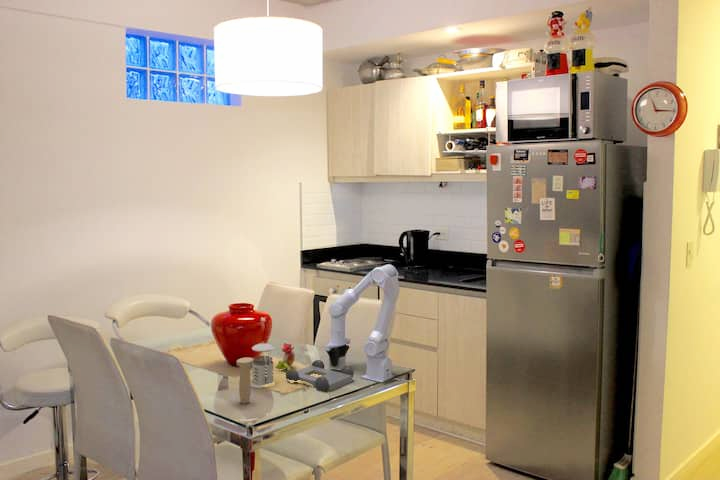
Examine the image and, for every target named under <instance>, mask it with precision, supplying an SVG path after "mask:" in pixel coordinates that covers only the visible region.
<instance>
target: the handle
mask: <svg viewBox="0 0 720 480" xmlns="http://www.w3.org/2000/svg"><path fill="white" fill-rule="evenodd" d="M253 358H254V357H247V356H246V357H241V358H239V359H237V360H236V366H238V367H239V370H240V371H239V382H238V384H239V385H238V386H239V387H238V388H239V389H238V391H239V398H240V404H243V405H244V404H249V403H250V398H251V391H252V386H251V381H252V379H251V367H252V364H253V362H254V359H253Z"/></svg>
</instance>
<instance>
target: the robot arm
mask: <svg viewBox="0 0 720 480" xmlns="http://www.w3.org/2000/svg"><path fill="white" fill-rule="evenodd" d="M373 284H376V285H377V286H378V287H379V288H380V289H381V290H382V292H383V293H384V294H383V297H382V300H381V304H380V308H379V312H378V314H377V317H376V322H375V324H374V328H373V331H372V332H371V333H370V335H369V336H368V340H366V341H365V343H364V345H363V350H364V353H365V355H366V365H365V367H366V370H365V372H366V373H365V374H364V375H362V376H361V378H362V379H365V380H369V381H374V382H378V383H384V382H386V381H389V380H390V379H392V378H393V377H394V376H393V375H392V374H393V372H392V371H393V361H392V359H391V358H390V357H388V356H387V355H386V351H387V350H388V348H389V346H390V345H389V338H390V337H389V334H388V331H389V329H390V325H391V322H392V319H393V315H394V311H395V308H396V305H397V302H398V298H399V294H400V285H399V272H398V270H397V269H396V267H395V266H394V265H392V264H390V263H388V264H385V265H381V266H377V267H375V268H373V269H372V270H371V271H369V272H368V273H367V274H366V275H365V276H364V278H362V279H361V280H360V281H359V282H358V284H356V286H355V287H354V288H348V289H345V290H344V291H343V294H342V295H340V296H339V297H337V298H336V301H332V302H331V303H329V306H328V308H327V309H328V313H329V315H330V340H328V343H327V344H324V351H325V352H326V353H327V355H328V357H329V358H330V361H331V366H335V367H336V366H337V359H338V354H339V355H344V356H346V355H347V353H348V351H349V349H350V346H349V345H348V344H351V338H349V337H346V315H347V314H348V312H349V309H350V308H351V307H353V305H355V304H356V303H357V302H358V301H359V300H360V295H362V293H363V292H364V291H366V290H367V289H368V288H369V287H370V286H371V285H373ZM346 357H347V356H346Z"/></svg>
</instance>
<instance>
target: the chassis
mask: <svg viewBox="0 0 720 480" xmlns="http://www.w3.org/2000/svg"><path fill="white" fill-rule="evenodd" d="M313 373H314V374H318V375H322V376H321V377H314V376H310V375H311V374H313ZM285 378H286V380H287V379H289V380H294V381H297V380H301V381H305V382H308V383H310V384H312V385H313V387H312V388H315V389H316V390H318V391H319V392H323V391H326V392H332V391H335V390H336V389H337V390H338V389H339V388H341V387H344V386H346V385H348V384H351V383H353V378H354V370H353V369H352V367H350V366H345V367H344V368H342V369H341V370H340V372H339V371H335V370H332V369H331V370H330V369H327V368H325V363H324V362H323V361H322V360H321V359H316V360H314V361H313V362H312V364H311V365H308V366H307V367H303V368H301V369H298V370H296V369H293V368H291V370H286V373H285Z"/></svg>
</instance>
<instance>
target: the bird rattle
mask: <svg viewBox="0 0 720 480" xmlns="http://www.w3.org/2000/svg"><path fill="white" fill-rule="evenodd" d="M294 348H295V347H294V346H292V343H285V342H283V347H282V348H281V351H282V352H283V353H284V355H283V358H282V360H281V359H279V360H278V361H277V364H276V365H275V368H276V370H279V369H283V370H284V369H285V370H286V369H287V370H286V371H288V370H291V369H292V366H293V364H294V362H295V357H296V355H295V352H294V351H293V350H294ZM290 367H291V368H290Z"/></svg>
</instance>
